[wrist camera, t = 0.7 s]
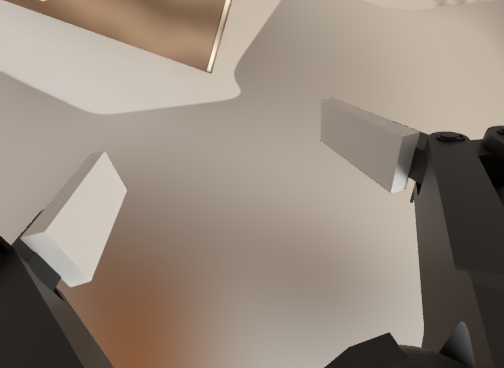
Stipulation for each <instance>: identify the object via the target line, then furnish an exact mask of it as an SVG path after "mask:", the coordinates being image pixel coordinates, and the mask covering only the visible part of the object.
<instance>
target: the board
mask: <svg viewBox="0 0 504 368" xmlns="http://www.w3.org/2000/svg"><path fill="white" fill-rule="evenodd" d="M5 1H8V2H10V3H13V4H16V5H19V6H22V7H24V8H27V9H30V10H33V11H36V12H39V13H41V14H44V15H47V16H50V17H53V18H56V19H58V20H61V21H64V22H67V23H70V24H73V25H75V26H78V27H81V28H84V29H87V30H89V31H92V32H95V33H98V34H101V35H104V36H106V37H109V38H112V39H115V40H118V41H121V42H123V43H126V44H129V45H132V46H135V47H138V48H140V49H143V50H146V51H149V52H152V53H154V54H157V55H160V56H163V57H166V58H169V59H171V60H174V61H177V62H180V63H183V64H186V65H188V66H191V67H194V68H197V69H200V70H203V71H205V72H208V73H211V74H212V70H213V66H214V63H215V59H216V56H217V52H218V49H219V45H220V42H221V38H222V35H223V31H224V28H225V24H226V21H227V17H228V14H229V10H230V6H231V3H232V0H46V1H41V0H5Z"/></svg>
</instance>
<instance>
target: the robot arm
mask: <svg viewBox="0 0 504 368" xmlns="http://www.w3.org/2000/svg"><path fill="white" fill-rule="evenodd" d="M321 141H322V142H323V143H324V144H326V145H327V146H328V147H330V148H331V149H332V150H334V151H335V152H336V153H338V154H339V155H340V156H342V157H343V158H344V159H346V160H347V161H348V162H350V163H351V164H352V165H354V166H355V167H356V168H358V169H359V170H360V171H362V172H363V173H365V174H366V175H367V176H368V177H370V178H371V179H372V180H374V181H375V182H376V183H378V184H379V185H380V186H382V187H383V188H384V189H386V190H387V191H388V192H390V193H393V192H396V191H400V190H404V189H406V185H407V181H408V178H411V179H413V180H414V181H416V182H415V186H414V189H413V193H412V196H411V200H410V202H411V203H413V200H414V202H415V214H416V227H417V241H418V254H419V267H420V280H421V293H422V306H423V319H424V336H423V341H422V347H421V348H420V347H415V346H407V345H398V344H397V342H396V341H395V339H394V338H393V337H392V336H391V334H390V333H386V334H384V335H381V336H378V337H375V338H373V339H370V340H367V341H365V342H362V343H359V344H357V345H354V346H351V347H349V348H348V349H346V350H345V351H344V352H343V353H342V354H340V355H339V356H338V357H337V358H335V359H334V360H333V361H332V362H331V363H329V364H328V365H327V366H326V367H324V368H504V126H494V127H490V128H488V129H487V131H486V133H485V135H484V138H483V139H480V140H470V139H469V138H468V137H467V136H465V135H462V134H459V133H454V132H436V133H432V134H430V135H428V134H425V133H422V132H420V131H417V130H415V129H412V128H409V127H407V126H404V125H402V124H399V123H397V122H394V121H391V120H388V119H386V118H383V117H381V116H378V115H376V114H373V113H370V112H368V111H365V110H363V109H360V108H358V107H355V106H353V105H350V104H347V103H345V102H342V101H340V100H337V99H335V98H328V99H324V100H321ZM126 192H127V190H126V188H125V186H124V184H123V183H122V181H121V179H120V177H119V176H118V174H117V172H116V170H115V168H114V167H113V165H112V163H111V161H110V160H109V158H108V156H107V154H106V152H105V151H103V152H99V153H95V154H91V155H90V156H89V157H88V158H87V159H86V161H85V162H84V163H83V164H82V165H81V167H80V168H79V169H78V170H77V171H76V172H75V174H74V175H73V176H72V177H71V178H70V180H69V181H68V182H67V183H66V184H65V185H64V187H63V188H62V189H61V190H60V191H59V193H58V194H57V195H56V196H55V197H54V199H53V200H52V201H51V202H50V203H49V204H48V206H47V207H46V208H45V209H44V210H42V211H41V212H40V213H39V214H38V215H37V216H36V217H35V218H34V219H33V221H32V222H31V223H30V224H29V225H28V226H27V229H25V230H24V231H23V232H22V233H21V235H20V236H19V237H18V238H17V239H16V241H15V242H14V243H13V244H12V245H10V244H9V243H7V242H6V241H5V240H4V239H3V238H2V237H1V236H0V368H114V367H113V366H112V364H111V363H110V361H109V360H108V358H107V357H106V356H105V354H104V353H103V351H102V350H101V348H100V347H99V345H98V344H97V343H96V341H95V340H94V339H93V337H92V335H91V334H90V333H89V331H88V330H87V328H86V327H85V325H84V324H83V322H82V321H81V319H80V318H79V317H78V315H77V314H76V312H75V311H74V309H73V308H72V306H71V305H70V304H69V302H68V301H67V299H66V298H65V296H64V295H63V294H62V292H61V291H60V290H58V289H57V288H56V286H57V284H58V282H59V280H60V279H62V280H64V282H66V283H67V284H68V285H69V286H70V287H73V286H76V285H80V284H83V283H86V282H90V281H91V279H92V277H93V274H94V272H95V269H96V267H97V264H98V262H99V259H100V257H101V254H102V252H103V249H104V247H105V244H106V242H107V239H108V237H109V234H110V231H111V229H112V227H113V224H114V222H115V219H116V217H117V214H118V211H119V209H120V207H121V204H122V202H123V199H124V197H125V194H126Z"/></svg>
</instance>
